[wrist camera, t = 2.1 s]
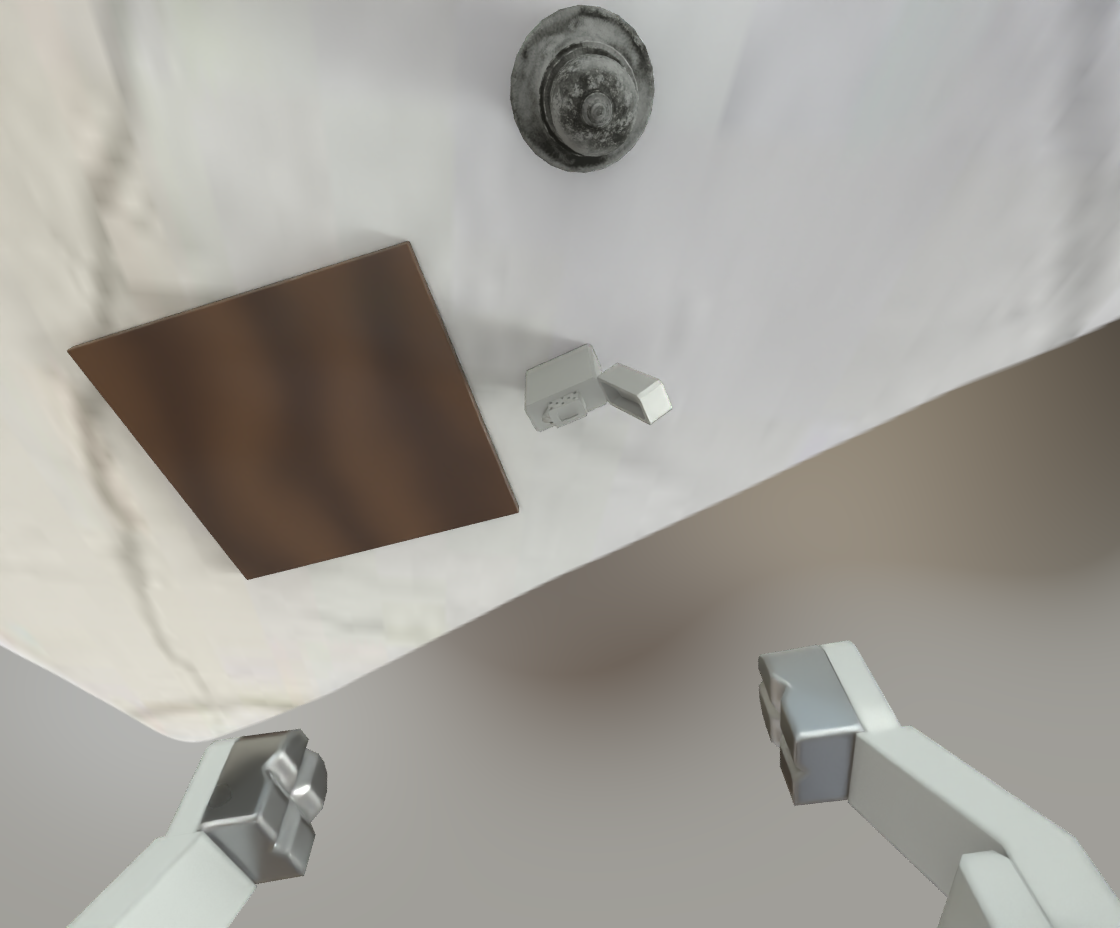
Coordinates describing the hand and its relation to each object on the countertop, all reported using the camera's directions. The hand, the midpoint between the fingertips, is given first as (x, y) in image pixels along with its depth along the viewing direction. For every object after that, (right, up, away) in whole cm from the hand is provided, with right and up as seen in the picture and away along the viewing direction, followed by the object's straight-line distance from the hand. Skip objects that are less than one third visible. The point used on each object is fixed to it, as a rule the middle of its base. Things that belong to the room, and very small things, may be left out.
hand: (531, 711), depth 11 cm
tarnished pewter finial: (+1, +22, +18) cm, 28 cm away
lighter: (+2, +10, +25) cm, 27 cm away
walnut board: (-14, +6, +27) cm, 31 cm away
